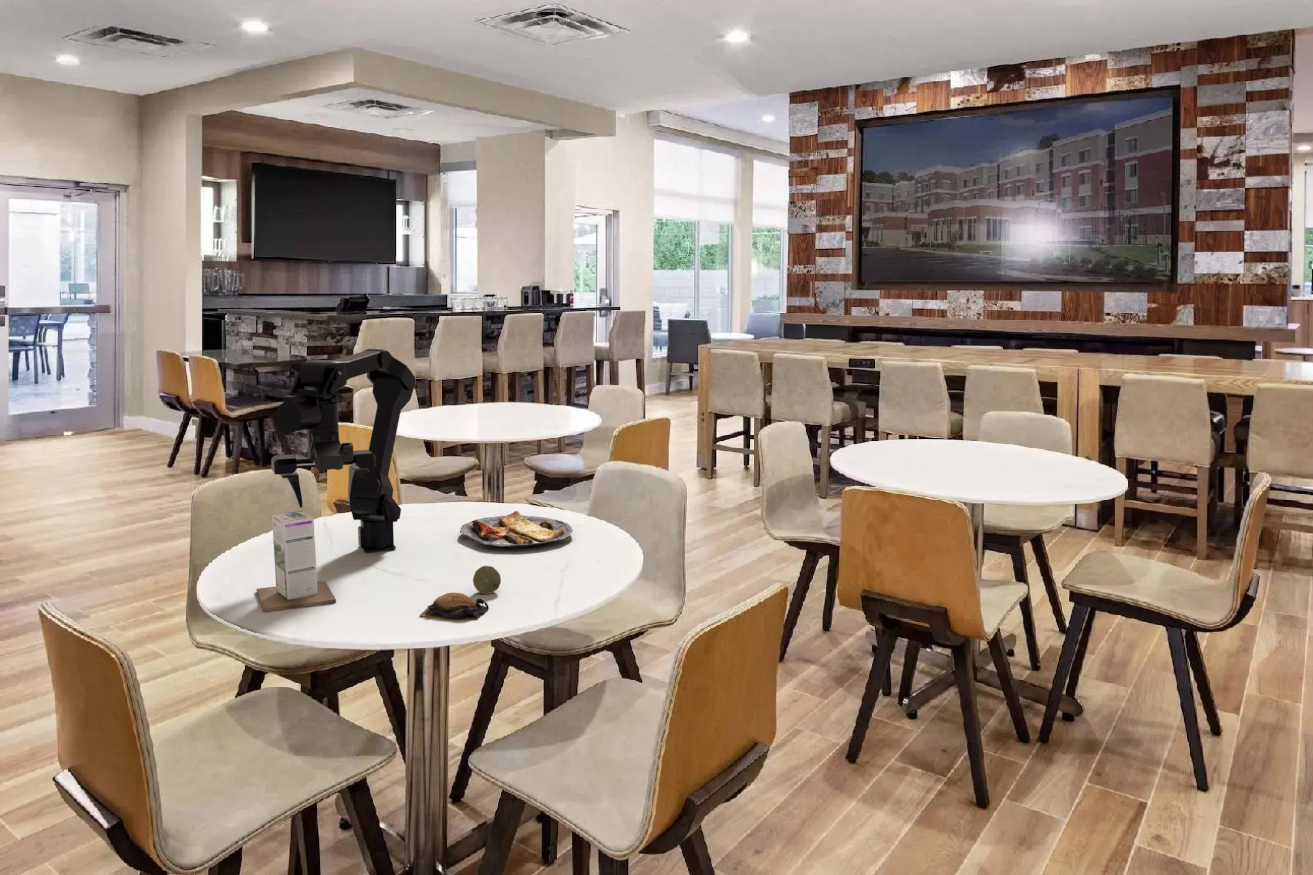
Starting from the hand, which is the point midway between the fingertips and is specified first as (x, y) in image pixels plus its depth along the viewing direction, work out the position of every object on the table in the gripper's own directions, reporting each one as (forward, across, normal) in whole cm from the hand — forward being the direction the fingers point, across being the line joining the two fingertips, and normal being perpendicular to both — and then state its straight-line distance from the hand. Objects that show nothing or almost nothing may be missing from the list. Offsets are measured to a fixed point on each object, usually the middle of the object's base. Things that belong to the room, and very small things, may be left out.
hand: (325, 505), depth 192 cm
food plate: (+14, +42, +9) cm, 45 cm away
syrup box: (+13, -8, -15) cm, 21 cm away
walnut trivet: (+13, -8, -15) cm, 21 cm away
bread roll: (+14, +16, -34) cm, 40 cm away
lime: (+13, +24, -26) cm, 38 cm away
